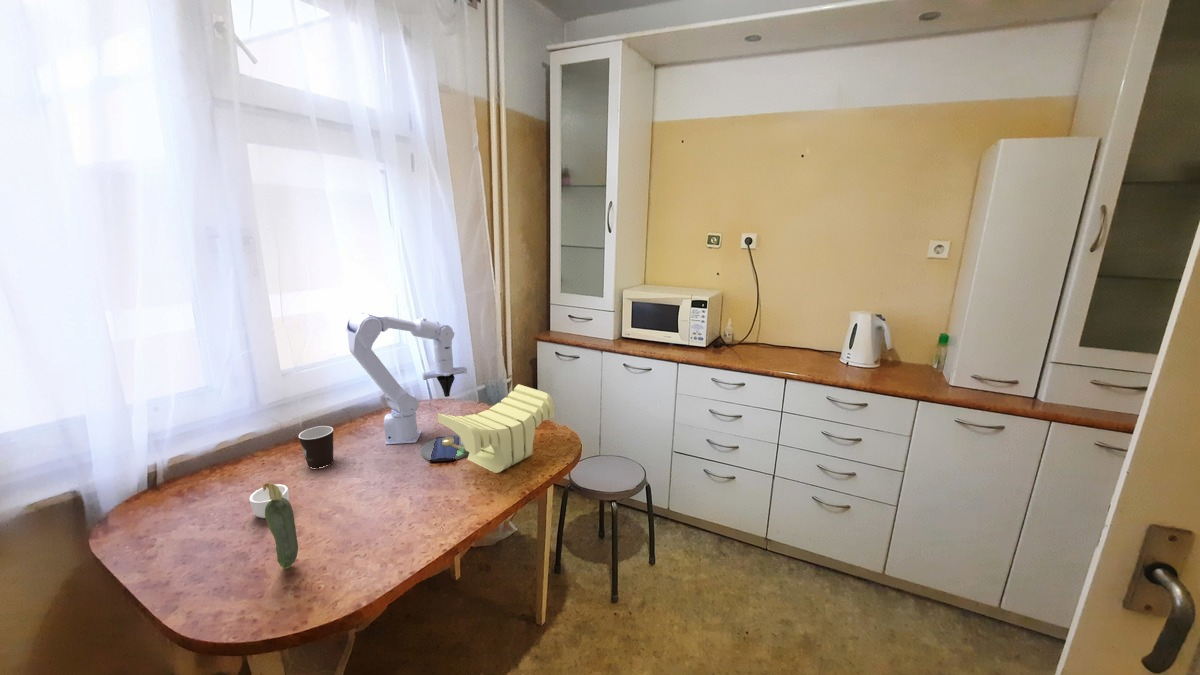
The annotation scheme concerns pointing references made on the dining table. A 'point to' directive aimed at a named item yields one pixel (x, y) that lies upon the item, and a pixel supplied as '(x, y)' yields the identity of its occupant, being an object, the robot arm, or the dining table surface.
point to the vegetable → (281, 526)
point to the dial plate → (429, 446)
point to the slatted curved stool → (502, 428)
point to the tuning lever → (450, 442)
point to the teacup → (265, 499)
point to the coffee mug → (317, 446)
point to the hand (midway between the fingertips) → (446, 395)
